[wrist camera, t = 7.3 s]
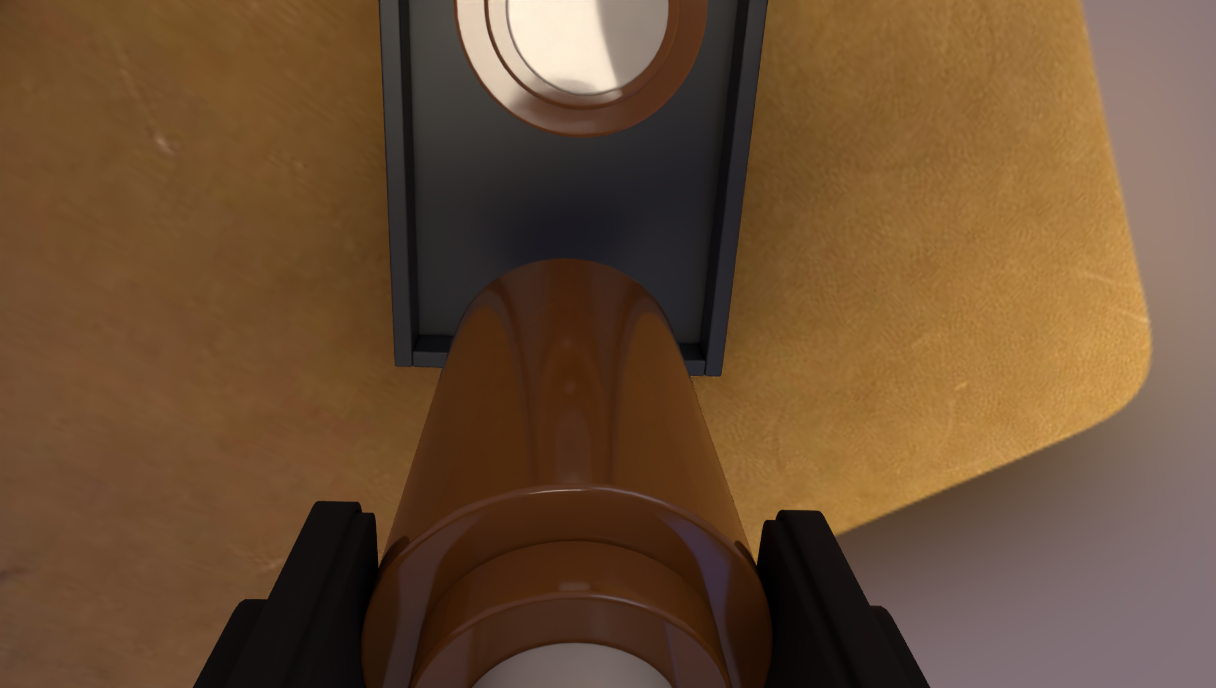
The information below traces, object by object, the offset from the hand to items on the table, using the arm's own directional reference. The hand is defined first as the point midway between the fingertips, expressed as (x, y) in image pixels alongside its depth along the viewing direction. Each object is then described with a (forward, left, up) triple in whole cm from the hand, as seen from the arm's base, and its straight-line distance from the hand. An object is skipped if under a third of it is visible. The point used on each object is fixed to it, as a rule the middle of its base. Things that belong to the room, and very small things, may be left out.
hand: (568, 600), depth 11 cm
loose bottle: (0, 0, -8) cm, 8 cm away
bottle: (0, -8, -18) cm, 19 cm away
